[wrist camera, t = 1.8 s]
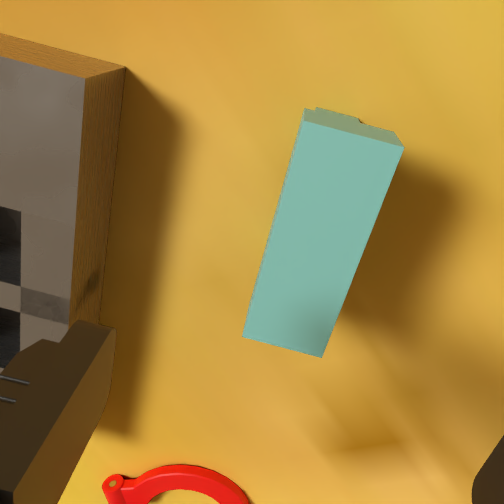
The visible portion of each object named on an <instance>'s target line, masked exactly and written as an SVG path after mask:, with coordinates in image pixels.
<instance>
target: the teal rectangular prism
mask: <svg viewBox="0 0 504 504" xmlns="http://www.w3.org/2000/svg"><path fill="white" fill-rule="evenodd" d="M403 150H404V146H403V145H402V143H401V142H400V140H399V139H398V137H397V136H396V134H395V133H394V132H392V131H388V130H384V129H381V128H377V127H373V126H369V125H366V124H362V123H360V121H359V119H358V118H355V117H351V116H348V115H344V114H340V113H336V112H333V111H329V110H325V109H321V108H318V107H316V110H315V111H313V110H310V109H306V108H305V109H304V112H303V116H302V119H301V123H300V126H299V130H298V134H297V137H296V141H295V144H294V148H293V151H292V155H291V158H290V162H289V165H288V169H287V173H286V176H285V180H284V183H283V187H282V190H281V194H280V197H279V201H278V205H277V208H276V212H275V215H274V219H273V222H272V226H271V229H270V233H269V237H268V240H267V244H266V247H265V251H264V254H263V258H262V261H261V265H260V269H259V272H258V276H257V279H256V283H255V286H254V290H253V293H252V297H251V300H250V304H249V308H248V312H247V317H246V322H245V326H244V331H243V335H242V337H245V338H249V339H252V340H256V341H260V342H264V343H268V344H271V345H275V346H279V347H283V348H286V349H290V350H294V351H298V352H302V353H305V354H309V355H313V356H317V357H321V358H322V356H323V353H324V351H325V348H326V346H327V343H328V341H329V338H330V335H331V333H332V330H333V328H334V325H335V323H336V320H337V318H338V315H339V313H340V310H341V307H342V305H343V302H344V300H345V297H346V295H347V292H348V290H349V287H350V285H351V282H352V279H353V277H354V274H355V272H356V269H357V267H358V264H359V262H360V259H361V257H362V254H363V251H364V249H365V246H366V244H367V241H368V239H369V236H370V234H371V231H372V228H373V226H374V223H375V221H376V218H377V216H378V213H379V211H380V208H381V206H382V203H383V200H384V198H385V195H386V193H387V190H388V188H389V185H390V183H391V180H392V178H393V175H394V172H395V170H396V167H397V165H398V162H399V160H400V157H401V155H402V152H403Z"/></svg>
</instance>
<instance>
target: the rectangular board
mask: <svg viewBox="0 0 504 504" xmlns="http://www.w3.org/2000/svg"><path fill="white" fill-rule="evenodd" d="M124 77H125V66H121V65H117V64H113V63H110V62H106V61H102V60H98V59H95V58H91V57H87V56H83V55H79V54H76V53H72V52H68V51H64V50H61V49H57V48H53V47H49V46H46V45H42V44H38V43H34V42H31V41H27V40H23V39H19V38H16V37H12V36H8V35H4V34H1V33H0V373H1V372H2V371H3V370H4V368H5V367H6V366H7V365H8V364H9V362H10V361H11V360H12V359H13V358H14V356H15V355H16V354H17V353H19V352H20V351H22V350H24V349H25V348H27V347H29V346H31V345H32V344H34V343H36V342H37V341H39V340H41V339H46V340H50V341H54V342H58V343H59V342H60V341H61V340H62V338H63V337H64V336H65V334H66V333H67V331H68V330H69V329H70V327H71V326H72V325H73V323H74V322H75V321H77V320H83V321H87V322H91V323H95V324H99V316H100V306H101V297H102V287H103V278H104V268H105V259H106V249H107V239H108V230H109V220H110V211H111V201H112V192H113V182H114V172H115V163H116V153H117V144H118V134H119V125H120V115H121V105H122V96H123V86H124Z"/></svg>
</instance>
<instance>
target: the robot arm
mask: <svg viewBox="0 0 504 504" xmlns="http://www.w3.org/2000/svg"><path fill="white" fill-rule="evenodd" d="M116 336H117V332H116V329H115V328H112V327H108V326H103V325H99V324H95V323H91V322H87V321H83V320H77V321H75V322H74V323H73V325H72V326H71V327H70V329H69V330H68V331H67V333H66V334H65V336H64V337H63V338H62V340H61V341H60V342H59V343H58V342H54V341H50V340H46V339H41V340H39V341H37V342H36V343H34V344H32V345H31V346H29V347H27V348H25V349H24V350H22V351H20V352H19V353H17V354H16V355H15V356H14V358H13V359H12V360H11V361H10V362H9V364H8V365H7V366H6V367H5V368H4V370H3V371H2V372H1V373H0V504H57V503H58V501H59V499H60V497H61V495H62V493H63V491H64V489H65V487H66V485H67V483H68V481H69V479H70V477H71V475H72V473H73V471H74V469H75V467H76V465H77V463H78V461H79V459H80V457H81V455H82V453H83V451H84V449H85V447H86V445H87V443H88V441H89V440H90V438H91V436H92V434H93V432H94V430H95V428H96V426H97V424H98V422H99V420H100V417H101V415H102V413H103V411H104V408H105V405H106V402H107V399H108V395H109V391H110V387H111V379H112V371H113V362H114V354H115V345H116ZM472 504H504V435H503V437H502V438H501V440H500V441H499V443H498V444H497V446H496V447H495V449H494V450H493V452H492V453H491V455H490V456H489V457H488V459H487V460H486V462H485V463H484V465H483V466H482V468H481V469H480V471H479V472H478V474H477V475H476V477H475V479H474V482H473V487H472Z"/></svg>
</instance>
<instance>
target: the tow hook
mask: <svg viewBox="0 0 504 504" xmlns="http://www.w3.org/2000/svg"><path fill="white" fill-rule="evenodd" d="M102 489H103V492H104V494H105V496H106V498H107V501H108V503H109V504H148V503H149V502H150V500H151V499H152V498H153V497H155V496H156V495H158V494H160V493H162V492H165V491H168V490H176V489H184V490H193V491H197V492H200V493H204V494H206V495H208V496H210V497H212V498H213V499H215V500H216V501H217V502H219V503H220V504H249V502H248V499H247V497H246V496H245V494H244V493H243V492H242V490H241V489H240V488H239V487H238V486H237V485H236V484H235V483H233V482H232V481H231V480H230V479H228V478H227V477H225V476H223V475H220V474H218V473H216V472H214V471H212V470H208V469H205V468H201V467H198V466H189V465H171V466H162V467H159V468H156V469H153V470H149V471H147V472H146V473H144V474H143V475H141V476H139V477H138V478H137V479H130V480H124V479H123V477H122V476H121V475H119V474H115V475H111V476H110V477H108V478H107V479H106V480H105V481H104V482H103V485H102Z"/></svg>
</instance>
